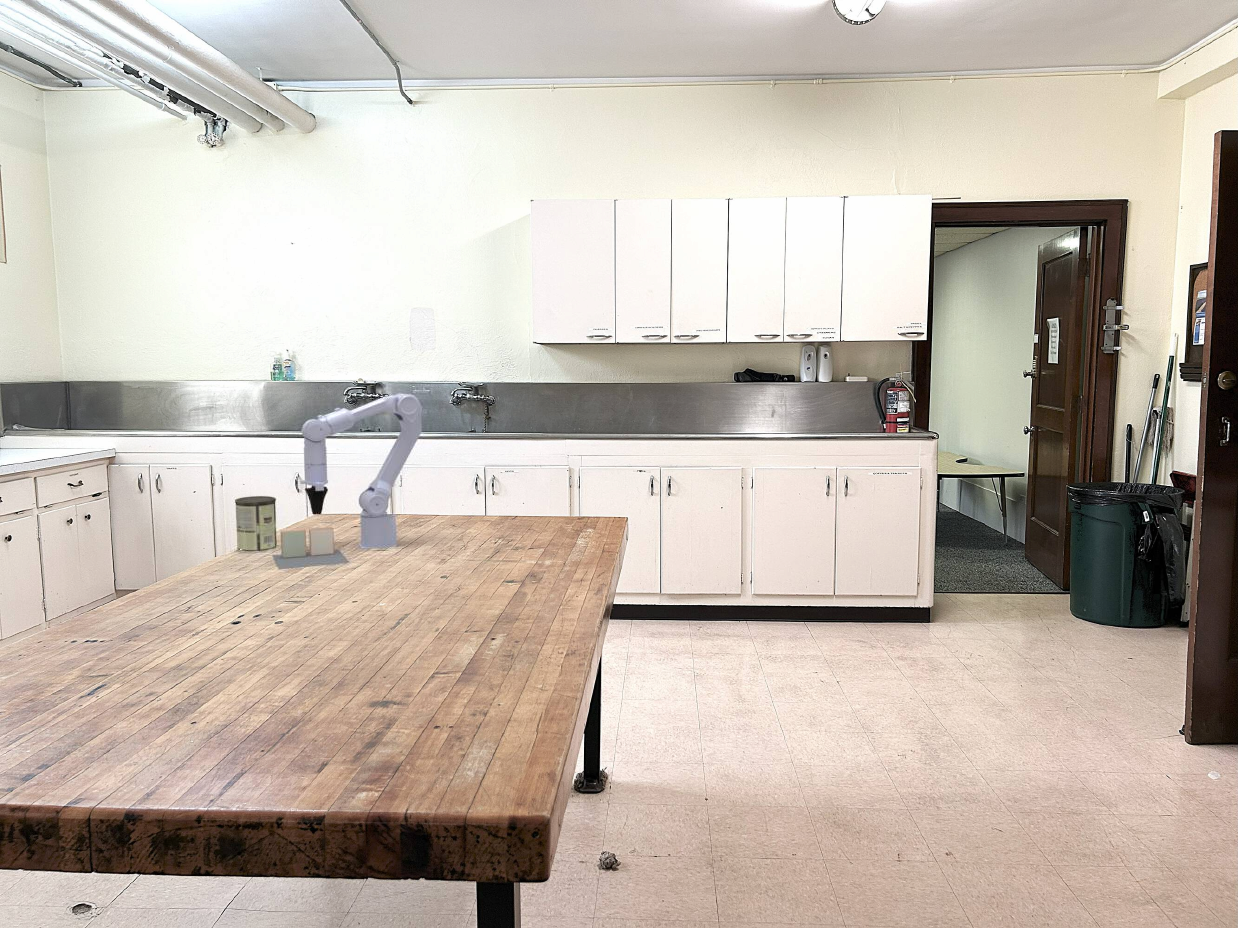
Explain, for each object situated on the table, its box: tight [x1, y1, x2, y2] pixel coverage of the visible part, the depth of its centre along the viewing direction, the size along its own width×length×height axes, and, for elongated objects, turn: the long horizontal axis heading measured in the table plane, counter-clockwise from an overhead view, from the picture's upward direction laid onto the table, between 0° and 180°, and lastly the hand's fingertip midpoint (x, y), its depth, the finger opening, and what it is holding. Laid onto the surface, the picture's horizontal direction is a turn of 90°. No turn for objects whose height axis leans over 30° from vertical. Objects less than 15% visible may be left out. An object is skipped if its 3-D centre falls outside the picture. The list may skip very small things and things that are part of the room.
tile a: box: [308, 526, 335, 556], centre depth 234 cm, size 2×6×7 cm, turn 116°
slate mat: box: [271, 549, 351, 570], centre depth 229 cm, size 17×18×1 cm
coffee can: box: [234, 495, 278, 554], centre depth 241 cm, size 10×10×14 cm
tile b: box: [280, 528, 307, 559], centre depth 231 cm, size 2×6×7 cm, turn 116°
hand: (316, 514), depth 239 cm, fingers closed
